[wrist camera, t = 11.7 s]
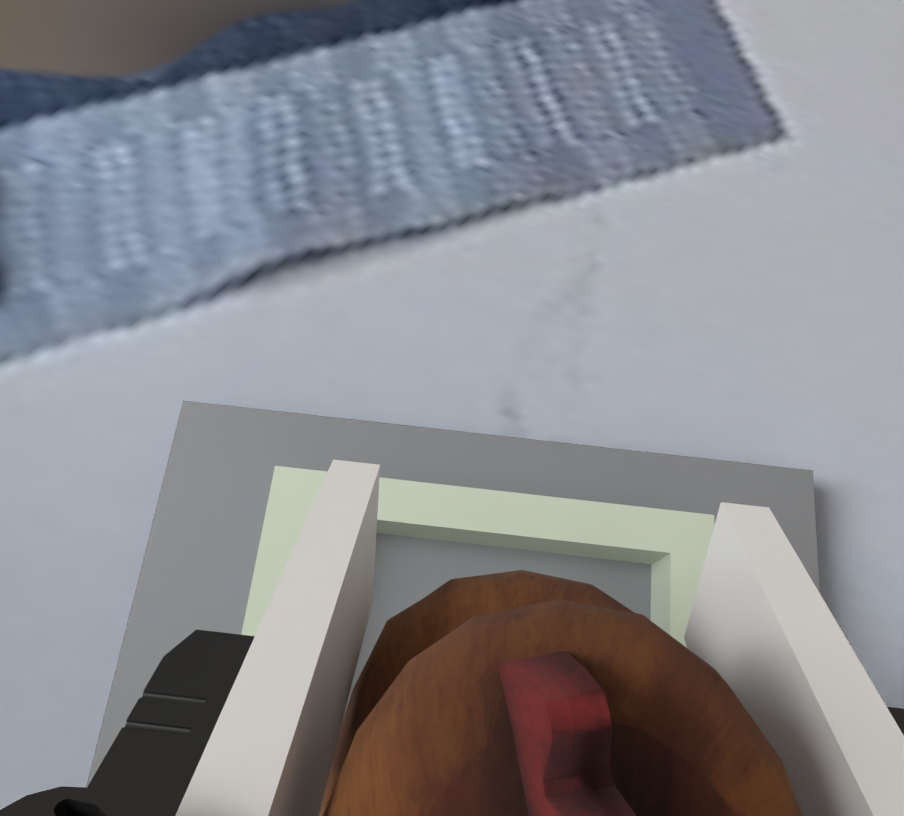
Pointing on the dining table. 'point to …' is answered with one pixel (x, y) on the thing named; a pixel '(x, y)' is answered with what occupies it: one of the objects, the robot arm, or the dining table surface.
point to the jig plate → (425, 523)
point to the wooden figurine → (545, 714)
